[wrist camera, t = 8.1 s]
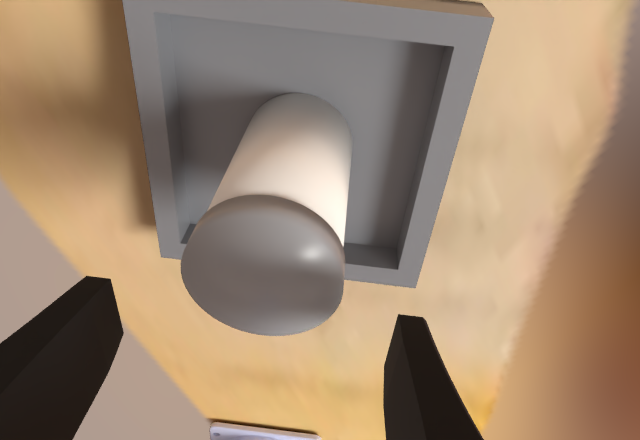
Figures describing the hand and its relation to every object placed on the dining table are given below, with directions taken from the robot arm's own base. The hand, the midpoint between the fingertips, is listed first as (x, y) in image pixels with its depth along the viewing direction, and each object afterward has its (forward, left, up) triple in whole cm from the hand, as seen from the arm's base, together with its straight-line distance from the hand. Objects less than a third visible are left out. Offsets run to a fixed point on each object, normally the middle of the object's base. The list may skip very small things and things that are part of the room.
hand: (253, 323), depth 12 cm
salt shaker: (0, 0, -10) cm, 10 cm away
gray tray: (0, 0, -10) cm, 10 cm away
